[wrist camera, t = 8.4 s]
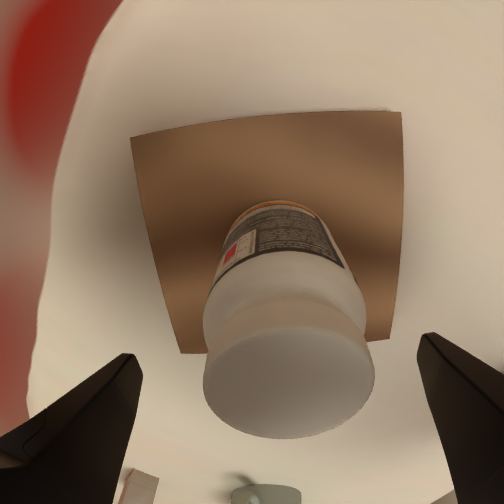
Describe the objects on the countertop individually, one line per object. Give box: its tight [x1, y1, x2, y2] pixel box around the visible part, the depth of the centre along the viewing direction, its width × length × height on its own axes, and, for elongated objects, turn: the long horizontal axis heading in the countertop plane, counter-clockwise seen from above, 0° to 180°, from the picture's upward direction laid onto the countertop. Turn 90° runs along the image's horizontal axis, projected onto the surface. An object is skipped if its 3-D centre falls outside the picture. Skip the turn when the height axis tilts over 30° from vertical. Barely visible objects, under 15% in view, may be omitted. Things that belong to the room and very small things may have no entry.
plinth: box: [130, 111, 404, 354], centre depth 17 cm, size 14×14×1 cm
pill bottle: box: [203, 200, 375, 439], centre depth 12 cm, size 6×6×10 cm
